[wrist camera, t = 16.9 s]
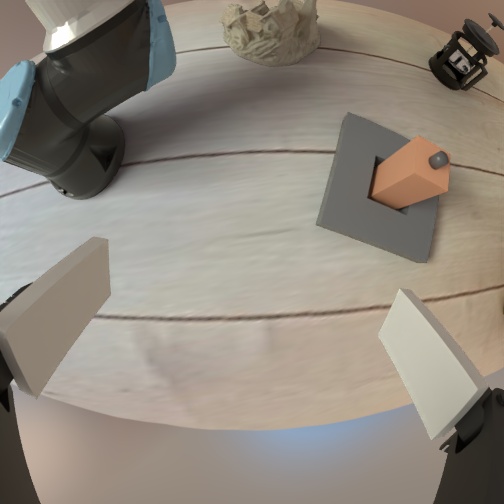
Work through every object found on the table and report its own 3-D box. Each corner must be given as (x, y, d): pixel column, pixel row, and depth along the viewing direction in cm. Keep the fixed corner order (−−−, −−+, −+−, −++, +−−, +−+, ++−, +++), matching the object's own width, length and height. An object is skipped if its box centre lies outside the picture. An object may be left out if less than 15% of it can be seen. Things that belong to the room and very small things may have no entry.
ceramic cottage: (332, 45, 39) (344, -12, 24) (267, 81, 39) (263, 17, 24) (276, 10, 40) (274, -41, 25) (214, 41, 41) (197, -14, 26)
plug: (366, 198, 38) (424, 167, 22) (372, 169, 38) (427, 128, 22) (393, 210, 38) (458, 187, 22) (399, 181, 38) (459, 149, 22)
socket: (315, 225, 38) (320, 222, 35) (342, 120, 38) (348, 112, 35) (416, 262, 38) (426, 262, 35) (433, 163, 38) (442, 158, 35)
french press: (420, 52, 39) (467, -7, 16) (447, 59, 39) (494, 9, 16) (443, 94, 38) (504, 39, 15) (469, 99, 38) (527, 54, 15)
